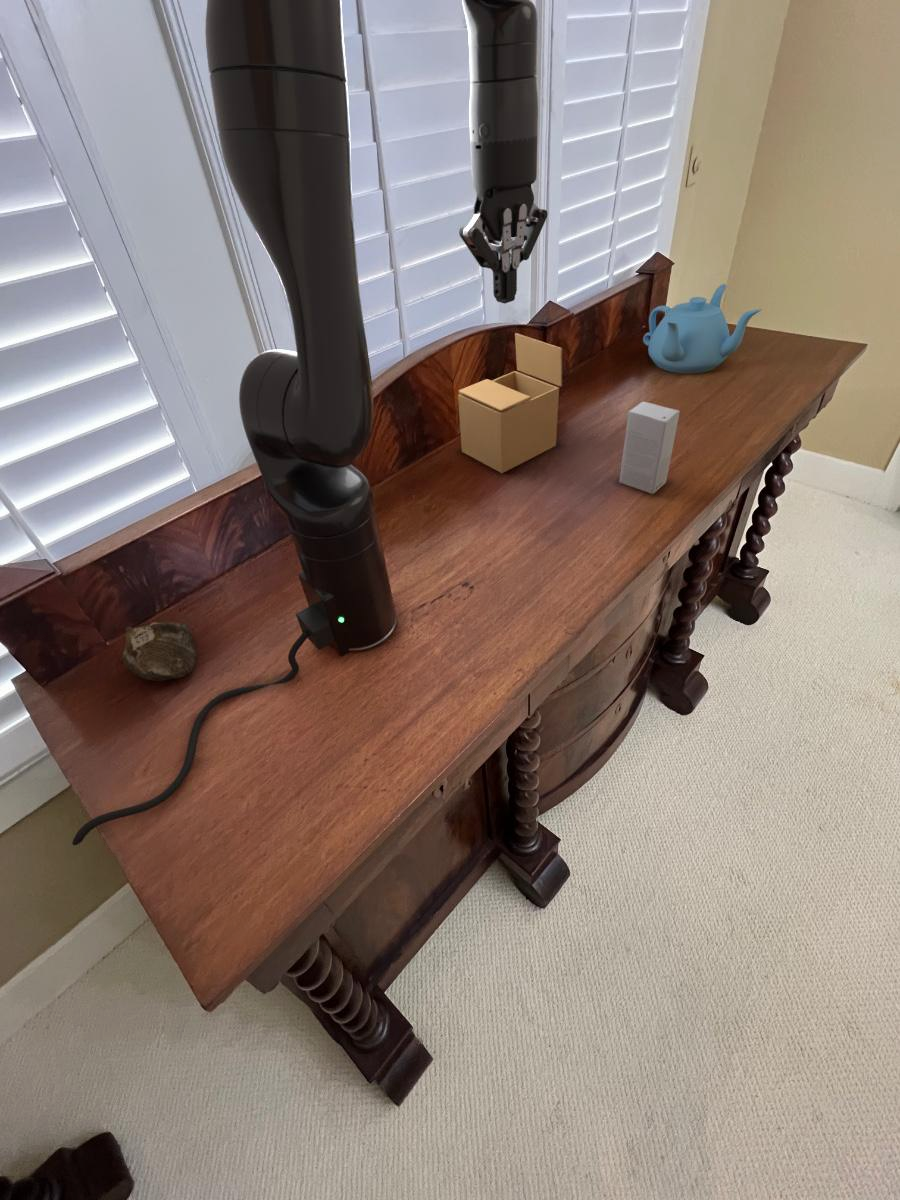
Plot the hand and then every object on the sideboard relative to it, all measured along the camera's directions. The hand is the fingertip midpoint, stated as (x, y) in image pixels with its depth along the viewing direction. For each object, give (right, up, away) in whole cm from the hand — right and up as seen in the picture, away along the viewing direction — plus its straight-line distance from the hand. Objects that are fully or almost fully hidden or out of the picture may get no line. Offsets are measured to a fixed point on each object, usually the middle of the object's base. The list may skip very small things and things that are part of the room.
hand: (505, 301), depth 77 cm
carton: (+3, -13, +26) cm, 29 cm away
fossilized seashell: (-42, -47, -6) cm, 63 cm away
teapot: (+43, +11, +46) cm, 64 cm away
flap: (0, -7, +17) cm, 18 cm away
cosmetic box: (+23, -21, +15) cm, 35 cm away
